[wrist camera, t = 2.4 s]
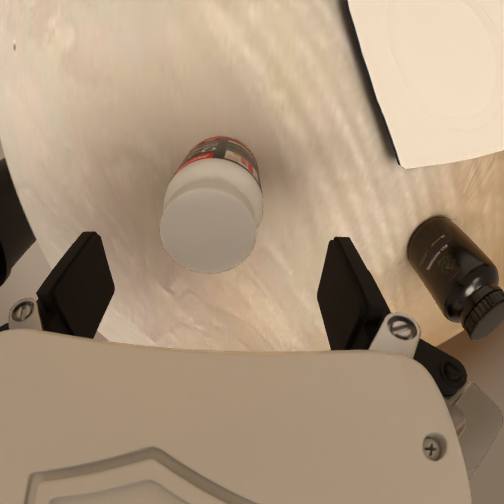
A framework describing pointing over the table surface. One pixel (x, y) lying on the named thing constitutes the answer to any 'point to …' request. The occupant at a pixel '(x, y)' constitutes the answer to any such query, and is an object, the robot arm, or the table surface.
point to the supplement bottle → (458, 276)
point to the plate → (435, 75)
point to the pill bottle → (212, 207)
